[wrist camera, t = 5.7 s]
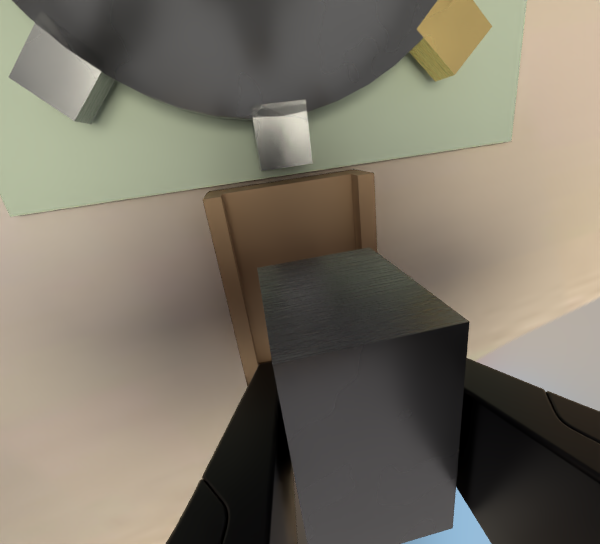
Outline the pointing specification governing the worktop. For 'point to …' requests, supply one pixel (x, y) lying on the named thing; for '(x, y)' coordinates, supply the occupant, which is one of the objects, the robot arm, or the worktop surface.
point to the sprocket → (238, 56)
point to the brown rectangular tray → (283, 239)
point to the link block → (366, 396)
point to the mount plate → (244, 126)
